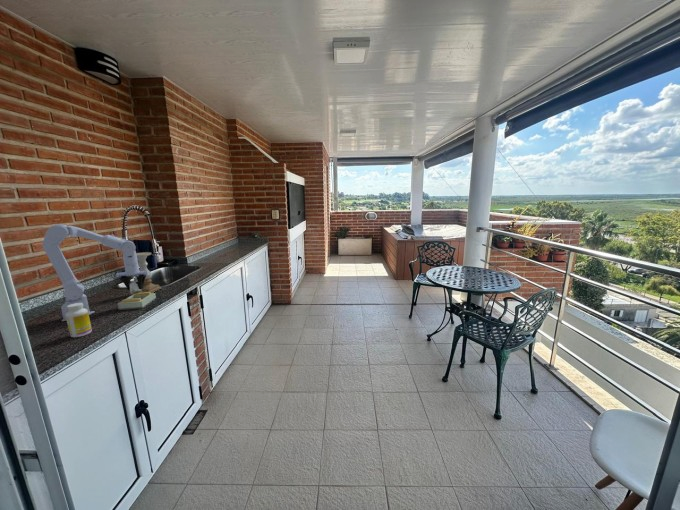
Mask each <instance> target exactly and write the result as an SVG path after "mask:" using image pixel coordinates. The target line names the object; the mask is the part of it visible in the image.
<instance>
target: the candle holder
mask: <svg viewBox="0 0 680 510" xmlns="http://www.w3.org/2000/svg"><path fill="white" fill-rule="evenodd" d="M136 255H137V260H138V266H139V271H149V275H146V278H145V280H144V284H143V289H142V292H140V293H143V292H151V293H154V292H155V291H157V290H159V289H161V290H162V286H160V284H154V283H152V279H151V278H152V276H153V273H152V272H151V271H150V270H149V269H148V265H149V264H148V262H147V260H146V259H147V258H148V256H151V255H152V252H151V251H150V252H149V251H145V252H144V251H143V252H136ZM136 277H138V276H136ZM155 293H156V292H155ZM132 295H134V294H131V296H132Z"/></svg>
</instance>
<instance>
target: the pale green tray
mask: <svg viewBox="0 0 680 510" xmlns="http://www.w3.org/2000/svg"><path fill="white" fill-rule="evenodd" d="M155 299H156V300H157V296H156V292H155V293H151V292H143V293H136V294H134V295H132V294H131V295H129V296H128V297H127V298H125V299H122V300H121V301H119V302H118V303H117V306H118V307H117V308H118V311H125V310H126V311H127V310H137V309H138V310H141V309H144V308H146V307H147V306H149V305H150V304H152V303H153V302H155ZM152 301H153V302H152Z"/></svg>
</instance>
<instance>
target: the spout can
mask: <svg viewBox="0 0 680 510" xmlns="http://www.w3.org/2000/svg"><path fill="white" fill-rule="evenodd" d="M129 288H130V290H129V293H130V294H131V295H132V294H136V293H140V292H142V289H139V284H138V281H137V279H136V277H134V278H133V280H131V281H130V282H129Z"/></svg>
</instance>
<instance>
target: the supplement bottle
mask: <svg viewBox="0 0 680 510" xmlns="http://www.w3.org/2000/svg"><path fill="white" fill-rule="evenodd" d="M67 309H68V310H69V312H67V313H66V320H67V321H66V323H67V328H68V332H69V336H70V337H71V338H81V337H83V336H86V335H89V334H91V333H92V332H93V328H92V324H91V319H90V315H89V314H88V310H87V309H85V308H83V303H75V304H71V305H68V306H67Z"/></svg>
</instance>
